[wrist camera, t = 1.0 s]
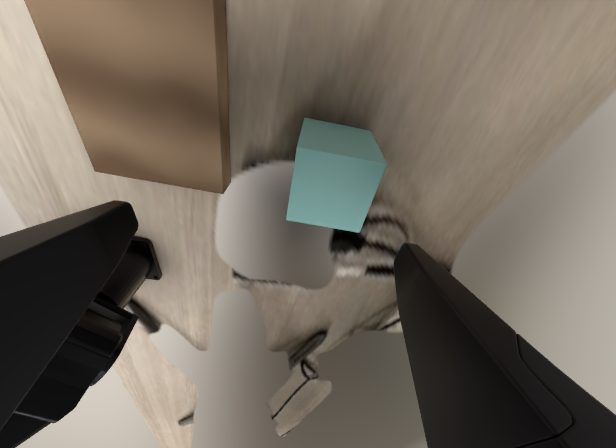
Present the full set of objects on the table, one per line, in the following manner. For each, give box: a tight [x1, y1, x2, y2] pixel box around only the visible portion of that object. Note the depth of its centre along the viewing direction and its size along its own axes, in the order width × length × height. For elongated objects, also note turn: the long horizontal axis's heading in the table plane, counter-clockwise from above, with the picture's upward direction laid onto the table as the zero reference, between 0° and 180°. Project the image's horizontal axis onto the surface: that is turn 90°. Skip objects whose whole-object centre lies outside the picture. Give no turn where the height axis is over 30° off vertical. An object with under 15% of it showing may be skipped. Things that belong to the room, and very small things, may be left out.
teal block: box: [286, 117, 387, 232], centre depth 17 cm, size 5×5×6 cm
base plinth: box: [24, 0, 231, 194], centre depth 16 cm, size 12×10×2 cm
